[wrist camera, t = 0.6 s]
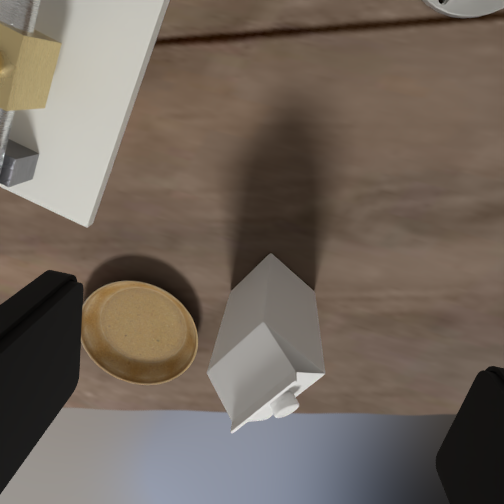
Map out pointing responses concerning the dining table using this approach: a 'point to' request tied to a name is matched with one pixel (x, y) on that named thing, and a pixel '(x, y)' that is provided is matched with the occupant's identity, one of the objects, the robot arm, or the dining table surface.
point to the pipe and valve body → (22, 81)
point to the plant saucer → (138, 332)
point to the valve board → (85, 99)
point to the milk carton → (266, 345)
